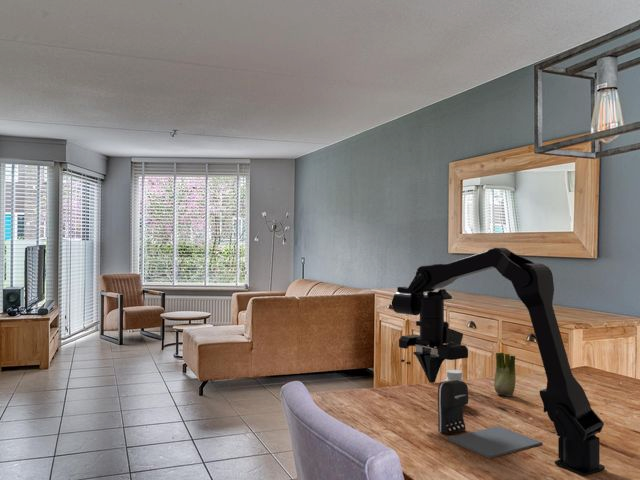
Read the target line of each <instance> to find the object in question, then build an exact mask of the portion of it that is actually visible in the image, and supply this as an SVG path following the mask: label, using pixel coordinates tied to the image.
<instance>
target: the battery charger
mask: <svg viewBox="0 0 640 480" xmlns="http://www.w3.org/2000/svg"><path fill="white" fill-rule="evenodd" d="M464 382H465V381H464ZM464 382H462V381H459V380H448V381H445V380H444V381H442V382H440V383H439V384H438V388H437V414H438V416H437V417H438V418H437V419H438V420H437V421H438V422H437V423H438V424H437V425H438V429H437V430H438V432H440V433H443V434H446V435H454V434H457V433H461V432H464V431H466V429H467V428H466V424H465V420H464V407H465V406H466V405H469V387H468V384H467V383H466V382H465V383H464Z"/></svg>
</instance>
